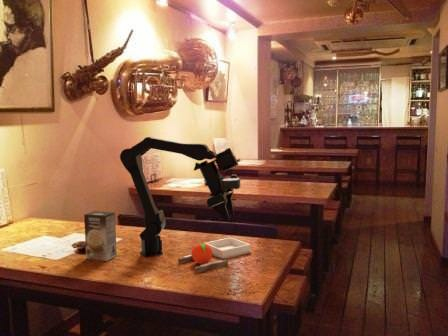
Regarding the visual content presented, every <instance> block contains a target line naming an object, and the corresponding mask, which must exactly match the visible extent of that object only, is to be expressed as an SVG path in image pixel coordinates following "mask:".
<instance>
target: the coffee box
mask: <svg viewBox="0 0 448 336" xmlns="http://www.w3.org/2000/svg"><path fill="white" fill-rule="evenodd" d="M83 219H84V241H85V259H86V260H94V261H103V262H104V261H105V262H108V261H110V260H111V259H114V258H116V257H117V256H118V255H117V253H118V252H117V227H116V226H117V225H116V212H113V211H101V210H93V211H90V212H88V213H85V214H83Z"/></svg>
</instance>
